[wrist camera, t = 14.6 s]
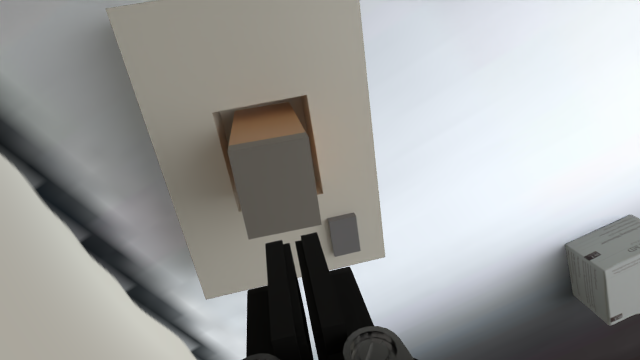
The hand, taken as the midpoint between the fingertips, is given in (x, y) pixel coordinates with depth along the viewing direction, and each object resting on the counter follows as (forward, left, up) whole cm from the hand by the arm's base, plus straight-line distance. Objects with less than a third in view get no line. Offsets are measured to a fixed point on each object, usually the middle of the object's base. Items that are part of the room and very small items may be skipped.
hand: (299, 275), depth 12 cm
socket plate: (0, 0, -19) cm, 19 cm away
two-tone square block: (0, 0, -18) cm, 18 cm away
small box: (+21, +32, -19) cm, 43 cm away
